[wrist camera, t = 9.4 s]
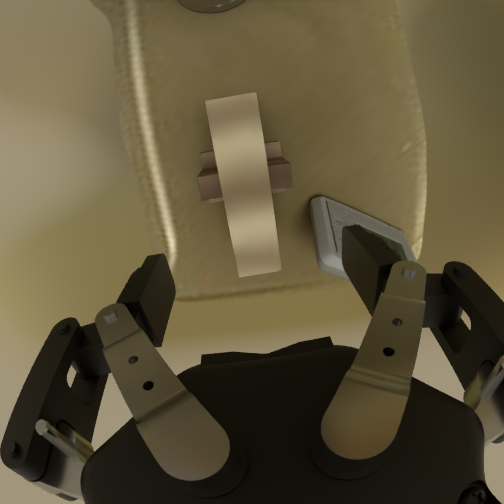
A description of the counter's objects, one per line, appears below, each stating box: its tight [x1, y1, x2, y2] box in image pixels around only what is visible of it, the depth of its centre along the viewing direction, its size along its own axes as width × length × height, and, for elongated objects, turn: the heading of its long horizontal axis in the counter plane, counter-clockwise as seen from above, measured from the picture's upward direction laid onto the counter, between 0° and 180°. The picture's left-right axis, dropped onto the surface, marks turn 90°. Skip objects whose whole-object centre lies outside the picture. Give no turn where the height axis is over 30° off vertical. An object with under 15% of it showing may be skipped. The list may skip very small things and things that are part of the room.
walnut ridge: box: [197, 141, 292, 203], centre depth 28 cm, size 6×9×6 cm, turn 98°
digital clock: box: [310, 196, 417, 280], centre depth 31 cm, size 16×9×11 cm, turn 59°
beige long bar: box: [205, 93, 281, 277], centre depth 24 cm, size 16×4×4 cm, turn 9°
